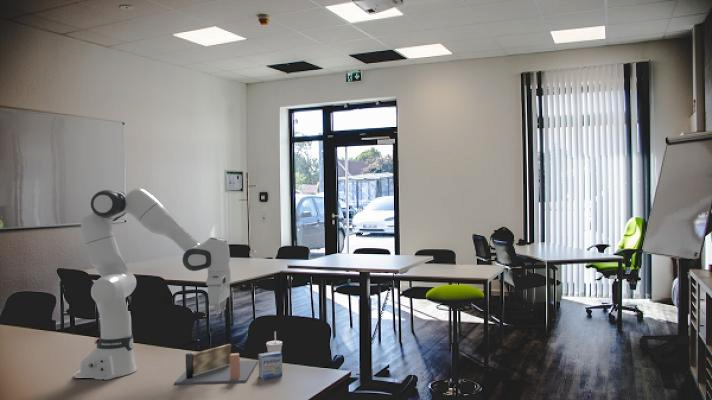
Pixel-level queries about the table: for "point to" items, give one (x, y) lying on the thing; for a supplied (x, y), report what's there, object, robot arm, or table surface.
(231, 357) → the post
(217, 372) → the mat
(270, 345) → the smoothie
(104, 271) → the robot arm
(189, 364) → the hinge post
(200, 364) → the gate
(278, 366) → the medicine box
